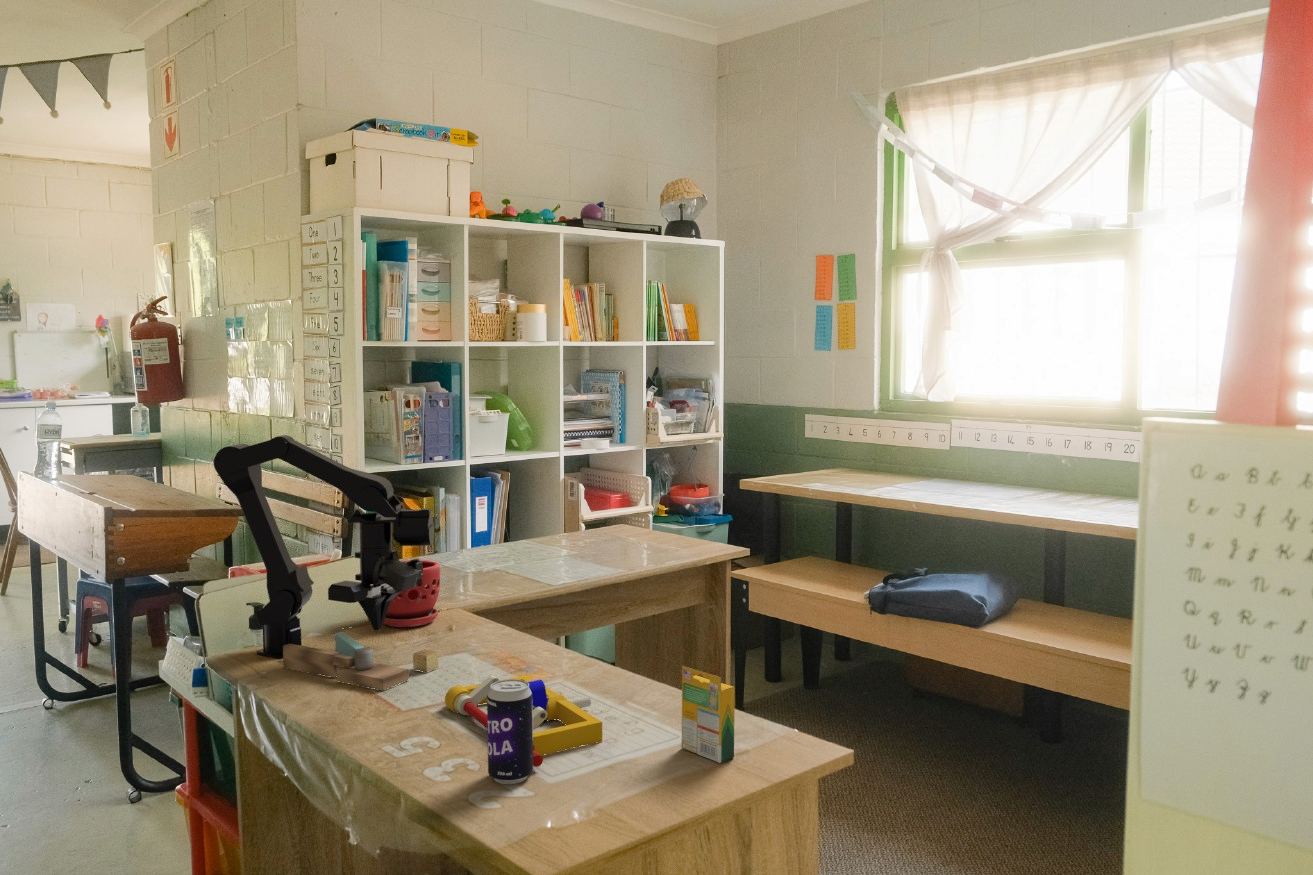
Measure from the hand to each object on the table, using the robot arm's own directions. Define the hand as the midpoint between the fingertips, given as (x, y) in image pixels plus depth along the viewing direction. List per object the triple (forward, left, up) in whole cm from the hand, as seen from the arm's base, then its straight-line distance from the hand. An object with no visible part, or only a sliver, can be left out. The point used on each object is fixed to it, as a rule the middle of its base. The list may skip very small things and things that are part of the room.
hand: (377, 629), depth 180 cm
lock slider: (+16, -5, -4) cm, 17 cm away
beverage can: (+55, -35, -4) cm, 65 cm away
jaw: (+2, -9, -4) cm, 10 cm away
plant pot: (-9, +18, -4) cm, 21 cm away
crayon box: (+74, -16, -4) cm, 76 cm away
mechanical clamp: (+48, -18, -5) cm, 51 cm away
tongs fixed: (+5, -14, -4) cm, 15 cm away
